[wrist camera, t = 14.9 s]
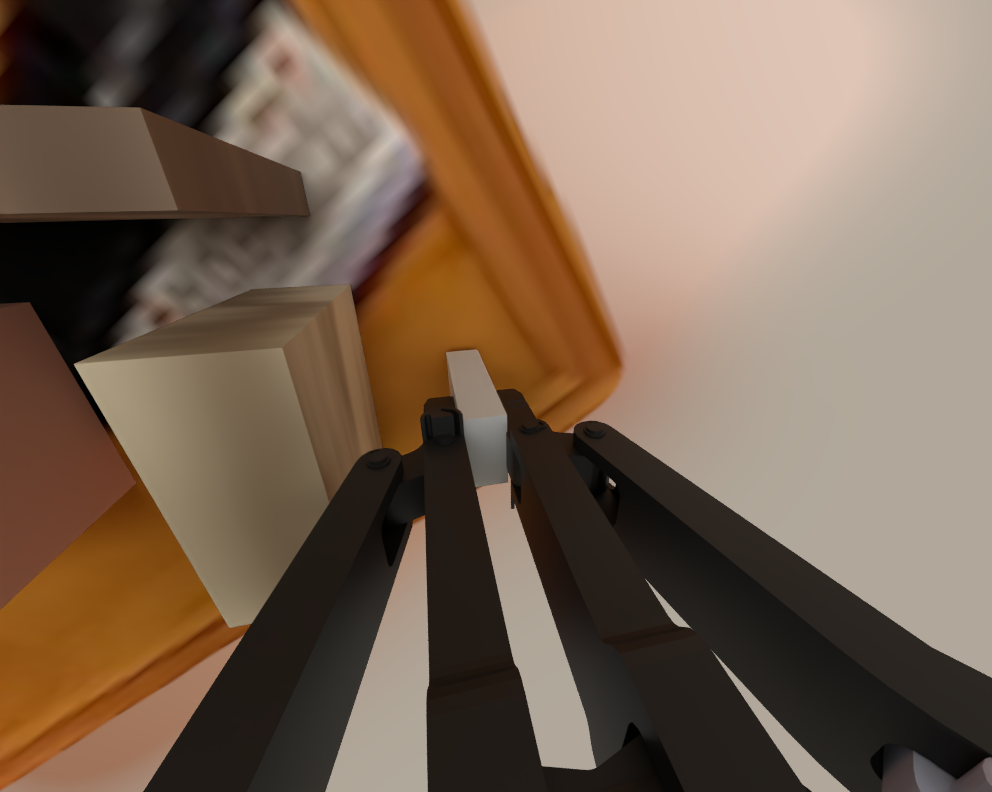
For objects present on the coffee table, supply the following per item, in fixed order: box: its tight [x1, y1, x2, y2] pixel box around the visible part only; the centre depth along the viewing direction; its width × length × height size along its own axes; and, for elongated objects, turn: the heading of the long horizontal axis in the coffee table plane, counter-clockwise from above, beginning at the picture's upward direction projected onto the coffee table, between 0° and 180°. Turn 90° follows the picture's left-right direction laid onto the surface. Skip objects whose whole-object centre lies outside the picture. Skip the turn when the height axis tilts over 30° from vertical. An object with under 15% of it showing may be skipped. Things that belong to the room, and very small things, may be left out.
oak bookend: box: [74, 284, 383, 628], centre depth 14 cm, size 4×9×9 cm, turn 1°
